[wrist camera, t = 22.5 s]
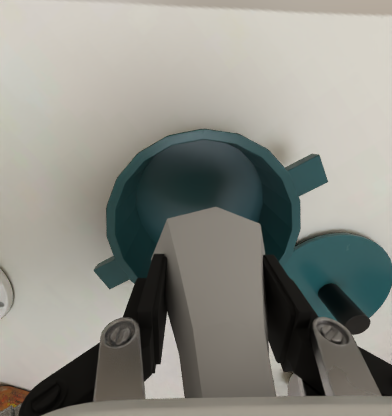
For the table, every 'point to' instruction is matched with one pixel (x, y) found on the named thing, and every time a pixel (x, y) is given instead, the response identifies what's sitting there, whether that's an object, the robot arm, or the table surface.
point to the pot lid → (342, 277)
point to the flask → (218, 303)
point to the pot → (203, 195)
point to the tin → (11, 396)
